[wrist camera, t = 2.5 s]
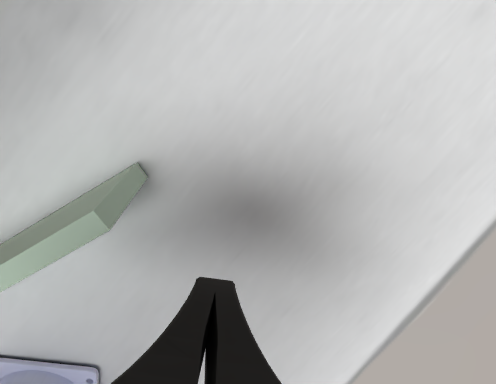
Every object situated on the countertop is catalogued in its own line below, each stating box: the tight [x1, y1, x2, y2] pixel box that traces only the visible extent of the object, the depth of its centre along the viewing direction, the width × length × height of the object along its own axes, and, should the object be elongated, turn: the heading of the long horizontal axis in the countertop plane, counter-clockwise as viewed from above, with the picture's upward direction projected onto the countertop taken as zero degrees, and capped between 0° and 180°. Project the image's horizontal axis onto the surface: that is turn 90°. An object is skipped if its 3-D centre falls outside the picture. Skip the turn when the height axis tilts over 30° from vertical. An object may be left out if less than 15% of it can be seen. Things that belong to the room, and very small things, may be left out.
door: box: [0, 163, 148, 292], centre depth 17 cm, size 16×1×6 cm, turn 120°
